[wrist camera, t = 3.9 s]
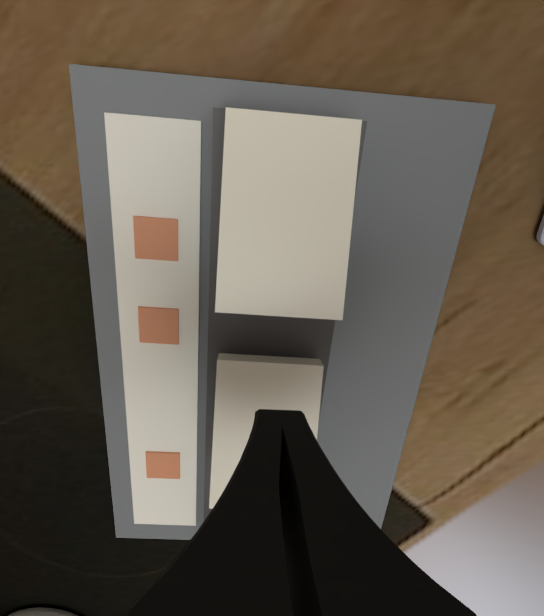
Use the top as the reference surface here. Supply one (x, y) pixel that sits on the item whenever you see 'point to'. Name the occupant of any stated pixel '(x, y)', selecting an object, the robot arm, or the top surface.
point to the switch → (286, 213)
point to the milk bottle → (42, 612)
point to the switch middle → (257, 403)
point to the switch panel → (377, 262)
